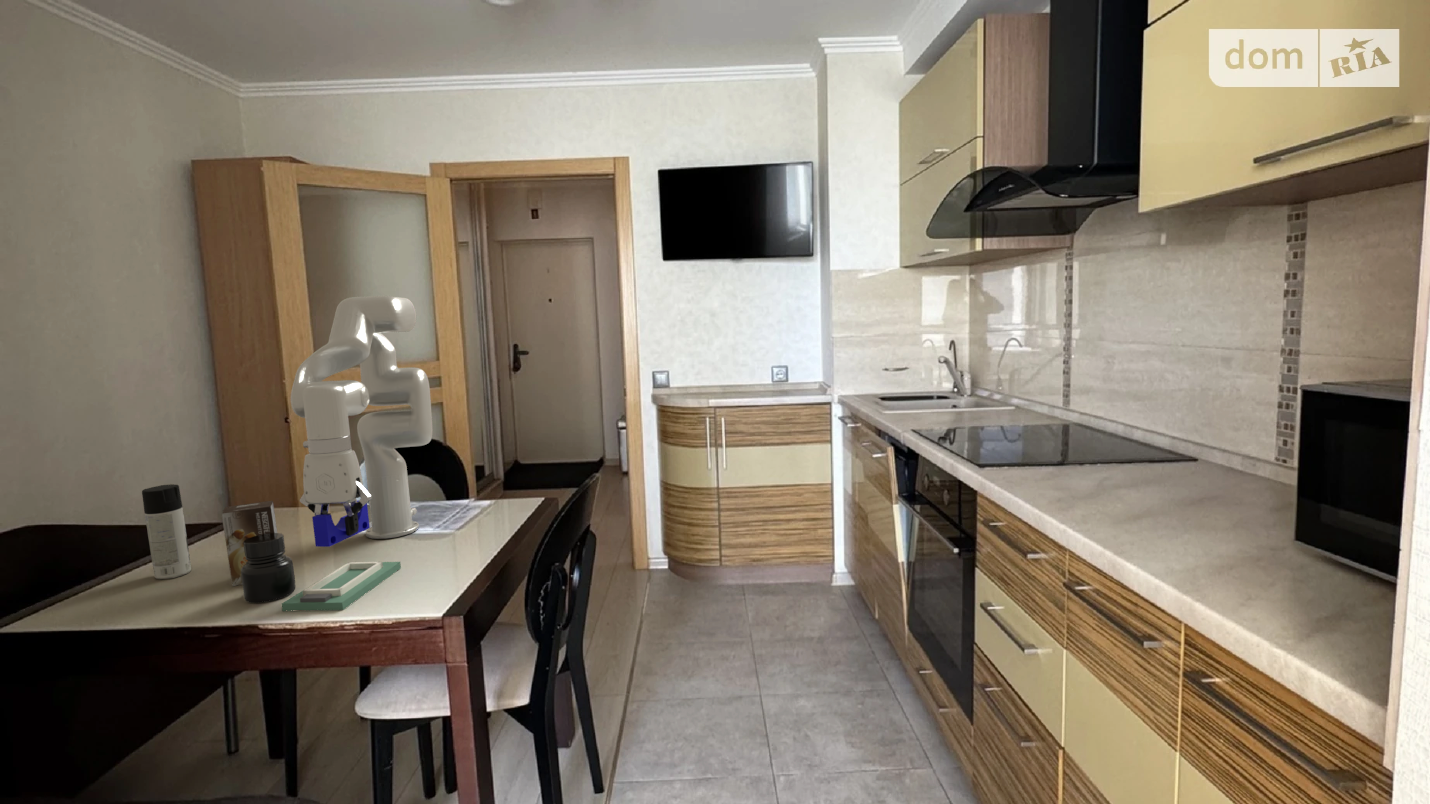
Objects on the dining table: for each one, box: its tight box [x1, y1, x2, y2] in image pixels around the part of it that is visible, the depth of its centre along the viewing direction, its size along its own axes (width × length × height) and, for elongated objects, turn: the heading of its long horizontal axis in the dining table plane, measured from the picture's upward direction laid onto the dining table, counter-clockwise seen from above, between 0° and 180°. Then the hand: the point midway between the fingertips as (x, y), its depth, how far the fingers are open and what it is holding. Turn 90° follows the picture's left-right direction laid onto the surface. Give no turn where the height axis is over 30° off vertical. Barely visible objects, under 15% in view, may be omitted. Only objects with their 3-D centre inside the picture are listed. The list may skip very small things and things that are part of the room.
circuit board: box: [281, 561, 402, 612], centre depth 144 cm, size 22×12×3 cm, turn 177°
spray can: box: [141, 483, 192, 580], centre depth 155 cm, size 7×7×20 cm
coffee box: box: [221, 500, 278, 587], centre depth 151 cm, size 9×6×16 cm
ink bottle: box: [241, 532, 296, 604], centre depth 141 cm, size 10×9×12 cm
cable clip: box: [311, 499, 371, 548], centre depth 143 cm, size 12×4×6 cm, turn 170°
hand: (339, 533), depth 142 cm, fingers closed on cable clip, 4 cm apart
